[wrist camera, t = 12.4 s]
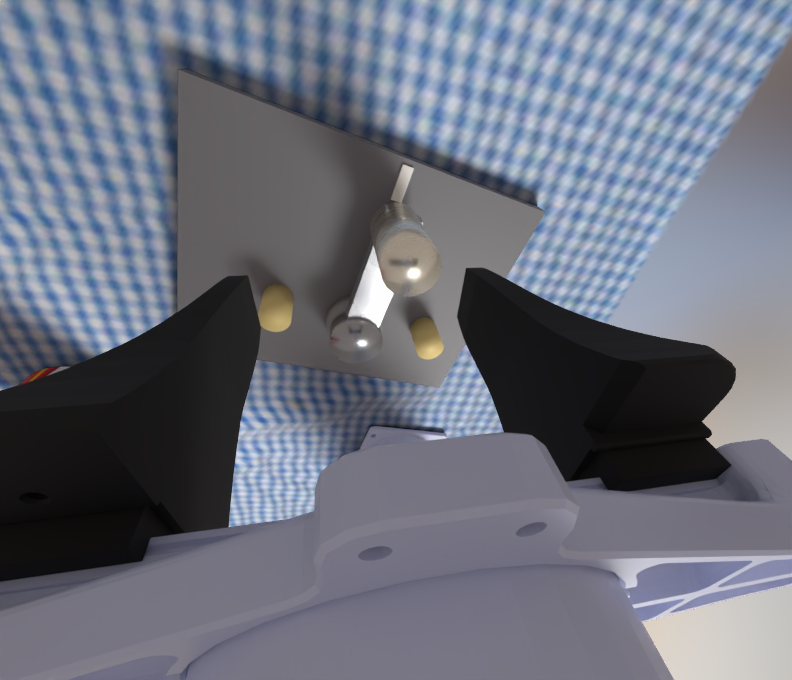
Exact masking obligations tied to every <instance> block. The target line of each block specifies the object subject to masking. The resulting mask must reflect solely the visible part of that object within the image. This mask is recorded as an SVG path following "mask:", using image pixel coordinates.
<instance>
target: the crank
mask: <svg viewBox="0 0 792 680" xmlns="http://www.w3.org/2000/svg"><path fill="white" fill-rule="evenodd" d="M370 233H371V240H370V243H369V246H368V249H367V252H366V254H365V257H364V260H363V263H362V266H361V269H360V272H359V274H358V277H357V280H356V283H355V286H354V289H353V292H352V294H351V297H350V300H349V303H348V306H347V309H346V312H343V313H341V314H340V315H338V316H337V317H336V318H335V319H334V320H333V321H332V323H331V325H330V349H331V351H332V353H333V354H334V356H335V357H337V358H338V359H339V360H341V361H344V362H347V363H363V362H366V361H369V360H371V359H372V358H374V357H375V356H376V355H377V354H378V353H379V352H380V350H381V348H382V345H383V338H382V333H381V328H380V323H381V321H382V319H383V316H384V314H385V312H386V309H387V307H388V305H389V302H390V300H391V298H392V295H393V293H395V294H397V295H400V296H405V297H412V296H417V295H420V294H423V293H424V292H426V291H428V290H429V289H430V288H432V287H433V286H434V285H435V283H436V282H437V280H438V279H439V277H440V274H441V270H442V261H441V257H440V255H439V253H438V251H437V250H436V248H435V246H434V244H433V243H432V241H431V239H430V237H429V236H428V234H427V232H426V230H425V229H424V227H423V221H422V219H421V217H420V216H419V215H416V213H415V211H414V210H413V209H412V208H411V207H409V206H408V205H406V204H403V203H398V202H394V203H389V204H385V203H383V206H382V207H381V208H380V209H378V210H377V211H376V213H375V214H374V216H373V217H372V220H371V223H370Z"/></svg>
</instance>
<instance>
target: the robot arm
mask: <svg viewBox="0 0 792 680" xmlns="http://www.w3.org/2000/svg"><path fill="white" fill-rule="evenodd" d="M457 319H458V322H459V326H460V329H461V332H462V335H463V338H464V340H465V343H466V345H467V347H468V349H469V351H470V353H471V355H472V357H473V359H474V361H475V363H476V365H477V367H478V369H479V371H480V373H481V375H482V377H483V379H484V381H485V383H486V385H487V387H488V389H489V392H490V394H491V396H492V399H493V402H494V404H495V407H496V410H497V413H498V415H499V418H500V421H501V424H502V427H503V430H504V432H501V433H492V434H483V435H474V436H464V437H455V438H447V436H446V434H445V433H438V432H428V431H419V430H409V429H399V428H390V427H380V426H373V427H371V428H370V429H369V431H368V433H367V435H366V437H365V439H364V441H363V443H362V445H361V447H360V449H359V450H358V451H354V452H351V453H347V454H345V455H343V456H342V457H340V458H339V459H338V460H336V461H335V462H333V463H332V464H331V465H329V466H328V467H326V468H325V469H324V470H323V471H321V472H320V475H319V478H318V482H317V485H316V488H315V511H312V512H309V513H306V514H303V515H300V516H296V517H293V518H290V519H287V520H279V521H272V522H264V523H257V524H249V525H242V526H235V527H228V526H229V513H230V503H231V493H232V483H233V473H234V465H235V457H236V449H237V442H238V435H239V428H240V421H241V416H242V412H243V407H244V404H245V400H246V396H247V393H248V389H249V385H250V382H251V378H252V375H253V371H254V367H255V363H256V360H257V356H258V351H259V343H260V333H261V325H260V321H259V317H258V313H257V309H256V305H255V301H254V297H253V293H252V289H251V285H250V281H249V277H248V275H244V276H227V277H225V278H224V279H222V280H221V281H219V282H218V283H217V284H215V285H214V286H213V287H211V288H210V289H209V290H207V291H206V292H205V293H203V294H202V295H201V296H199V297H198V298H197V299H195V300H194V301H193V302H191V303H190V304H189V305H187V306H186V307H184V308H183V309H181V310H180V311H178V312H177V313H175V314H174V315H172V316H171V317H169V318H168V319H166V320H165V321H163V322H162V323H160V324H159V325H157V326H155V327H154V328H152V329H150V330H149V331H147V332H145V333H143V334H141V335H139V336H138V337H136V338H134V339H132V340H130V341H128V342H126V343H124V344H122V345H120V346H118V347H116V348H113V349H111V350H109V351H107V352H105V353H102V354H100V355H98V356H96V357H94V358H91V359H89V360H87V361H84V362H82V363H79V364H77V365H74V366H72V367H69V368H67V369H64V370H62V371H59V372H56V373H53V374H50V375H48V376H45V377H42V378H39V379H36V380H33V381H30V382H28V383H25V384H21V385H18V386H15V387H12V388H8V389H5V390H2V391H0V680H674V679H673V677H672V675H671V674H670V672H669V670H668V668H667V666H666V665H665V663H664V661H663V659H662V658H661V656H660V654H659V652H658V650H657V648H656V647H655V645H654V643H653V641H652V639H651V638H650V636H649V634H648V632H647V630H646V629H645V627H644V625H643V623H642V622H645V621H649V620H653V619H657V618H660V617H664V616H668V615H672V614H675V613H679V612H683V611H687V610H691V609H694V608H698V607H702V606H706V605H710V604H714V603H718V602H722V601H725V600H730V599H733V598H738V597H742V596H747V595H751V594H755V593H759V592H763V591H768V590H773V589H778V588H782V587H787V586H791V585H792V461H791V460H790V459H789V458H788V457H787V456H786V455H784V454H783V453H782V452H781V451H780V450H779V449H777V448H776V447H775V446H774V445H773V444H772V443H771V442H769V441H768V440H764V439H760V440H751V441H743V442H735V443H730V444H726V445H723V446H721V447H719V448H717V449H715V448H714V447H713V446H712V445H711V444H710V443H709V442H708V441H707V440H706V439H705V438H709V437H710V436H711V435H712V433H711V430H710V429H709V428H708V427H707V426H706V425H705V424H703V422H702V421H703V420H704V418H705V417H706V416H707V415H708V414H709V413H710V412H711V411H712V410H713V409H714V408H715V407H716V406H717V405H718V404H719V402H720V401H721V400H722V399H723V398H724V397H725V396H726V395H727V393H728V392H729V391H730V389H731V388H732V386H733V384H734V381H735V377H736V368H735V367H734V366H733V364H732V363H731V362H730V361H728V360H727V359H726V358H724V357H723V356H722V355H720V354H719V353H718V352H717V351H715V350H714V349H712V348H710V347H708V346H706V345H700V344H694V343H688V342H683V341H677V340H671V339H665V338H660V337H656V336H651V335H646V334H643V333H638V332H634V331H630V330H626V329H622V328H618V327H615V326H612V325H609V324H606V323H602V322H599V321H596V320H593V319H590V318H587V317H584V316H582V315H579V314H577V313H574V312H572V311H569V310H567V309H564V308H562V307H560V306H557V305H555V304H553V303H551V302H549V301H547V300H545V299H543V298H541V297H538V296H537V295H535V294H533V293H531V292H529V291H527V290H525V289H523V288H522V287H520V286H518V285H516V284H514V283H513V282H511V281H509V280H507V279H505V278H504V277H502V276H500V275H498V274H496V273H494V272H492V271H490V270H488V269H486V268H483V267H482V268H466V271H465V276H464V281H463V287H462V292H461V297H460V303H459V308H458V313H457Z"/></svg>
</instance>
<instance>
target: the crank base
mask: <svg viewBox="0 0 792 680" xmlns="http://www.w3.org/2000/svg"><path fill="white" fill-rule="evenodd" d="M394 202H398V203H403V204H406V205H408V206H409V207H411V208H412V209H413V210H414V211H415V213H416V215H419V216H420V217H421V219H422V221H423V227H424V229H425V230H426V232H427V234H428V236H429V237H430V239H431V241H432V243H433V244H434V246H435V248H436V250H437V251H438V253H439V255H440V257H441V261H442V270H441V274H440V277H439V279H438V280H437V282H436V283H435V285H434V286H433V287H432V288H430V289H429V290H428V291H426V292H424V293H423V294H420V295H417V296H412V297H405V296H400V295H397V294H395V293H393V295H392V298H391V300H390V302H389V305H388V307H387V309H386V312H385V314H384V316H383V319H382V321H381V323H380V328H381V333H382V338H383V345H382V348H381V350H380V352H379V353H378V354H377V355H376V356H375V357H374V358H372V359H371V360H369V361H366V362H363V363H347V362H344V361H341V360H339V359H338V358H337V357H335V356H334V354H333V353H332V351H331V349H330V325H331V323H332V321H333V320H334V319H335V318H336V317H337V316H338V315H340V314H341V313H343V312H346V309H347V306H348V303H349V300H350V297H351V294H352V292H353V289H354V286H355V283H356V280H357V277H358V274H359V272H360V269H361V266H362V263H363V260H364V257H365V254H366V252H367V249H368V246H369V243H370V240H371V233H370V223H371V220H372V217H373V216H374V214H375V213H376V211H377V210H378V209H380V208H381V207H382V206H383V203H385V204H389V203H394ZM544 214H545V211H543V210H542V209H540V208H539V207H537V206H535V205H532V204H530V203H527V202H525V201H522V200H520V199H517V198H514V197H512V196H509V195H507V194H504V193H502V192H499V191H497V190H494V189H491V188H489V187H486V186H484V185H481V184H479V183H476V182H474V181H471V180H468V179H466V178H463V177H461V176H458V175H456V174H453V173H451V172H448V171H446V170H443V169H440V168H438V167H435V166H433V165H430V164H428V163H425V162H423V161H420V160H417V159H415V158H412V157H410V156H407V155H405V154H402V153H400V152H397V151H394V150H392V149H389V148H387V147H384V146H382V145H379V144H377V143H374V142H371V141H369V140H366V139H364V138H361V137H359V136H356V135H354V134H351V133H348V132H346V131H343V130H341V129H338V128H336V127H333V126H331V125H328V124H325V123H323V122H320V121H318V120H315V119H313V118H310V117H308V116H305V115H302V114H300V113H297V112H295V111H292V110H290V109H287V108H285V107H282V106H279V105H277V104H274V103H272V102H269V101H267V100H264V99H262V98H259V97H256V96H254V95H251V94H249V93H246V92H244V91H241V90H239V89H236V88H234V87H231V86H228V85H226V84H223V83H221V82H218V81H216V80H213V79H211V78H208V77H205V76H203V75H200V74H198V73H195V72H193V71H190V70H188V69H178V226H177V312H178V311H180V310H181V309H183V308H184V307H186V306H187V305H189V304H190V303H191V302H193V301H194V300H195V299H197V298H198V297H199V296H201V295H202V294H203V293H205V292H206V291H207V290H209V289H210V288H211V287H213V286H214V285H215V284H217V283H218V282H219V281H221V280H222V279H224V278H225V277H227V276H244V275H248V277H249V281H250V285H251V289H252V293H253V297H254V301H255V305H256V309H257V313H258V317H259V321H260V325H261V333H260V343H259V351H258V356H257V360H263V361H270V362H276V363H283V364H289V365H296V366H302V367H309V368H315V369H322V370H328V371H335V372H342V373H348V374H355V375H361V376H368V377H374V378H381V379H387V380H394V381H400V382H407V383H414V384H420V385H427V386H433V387H440V385H441V384H442V382H443V380H444V379H445V377H446V375H447V374H448V372H449V371H450V369H451V367H452V366H453V364H454V362H455V361H456V359H457V357H458V356H459V354H460V352H461V351H462V349H463V347H464V346H465V344H466V343H465V340H464V338H463V335H462V332H461V329H460V326H459V322H458V319H457V313H458V308H459V303H460V297H461V292H462V287H463V281H464V276H465V271H466V268H482V267H483V268H486V269H488V270H490V271H492V272H494V273H496V274H498V275H500V276H502V277H504V278H506V277H507V275H508V273H509V272H510V270H511V268H512V267H513V265H514V264H515V262H516V260H517V259H518V257H519V255H520V254H521V252H522V250H523V249H524V247H525V245H526V244H527V242H528V240H529V239H530V237H531V236H532V234H533V232H534V231H535V229H536V227H537V226H538V224H539V222H540V221H541V219H542V217H543V216H544Z"/></svg>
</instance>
